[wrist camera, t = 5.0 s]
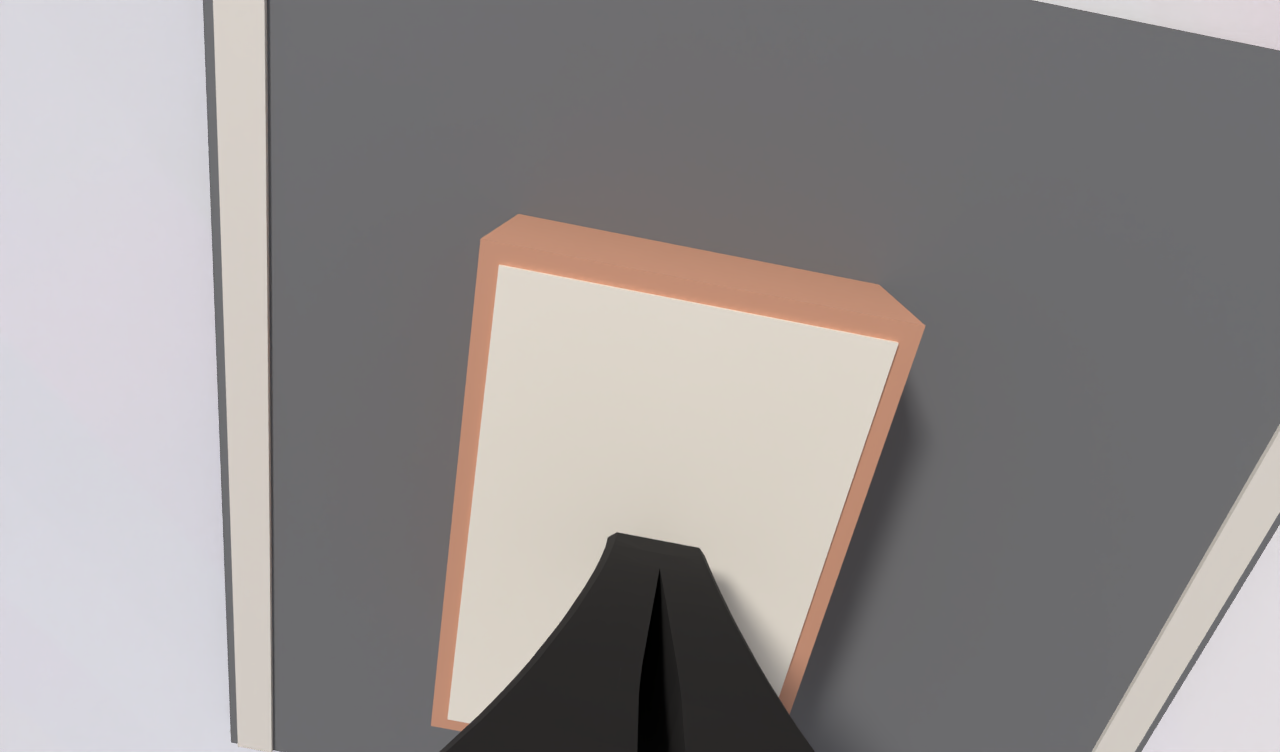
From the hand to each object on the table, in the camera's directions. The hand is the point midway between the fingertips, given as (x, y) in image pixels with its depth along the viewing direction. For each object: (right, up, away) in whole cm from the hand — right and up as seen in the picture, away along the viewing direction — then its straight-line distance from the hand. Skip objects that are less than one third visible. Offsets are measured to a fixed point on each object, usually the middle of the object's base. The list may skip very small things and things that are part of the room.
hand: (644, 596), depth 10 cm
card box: (-3, +1, +2) cm, 4 cm away
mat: (+2, +1, +4) cm, 4 cm away
